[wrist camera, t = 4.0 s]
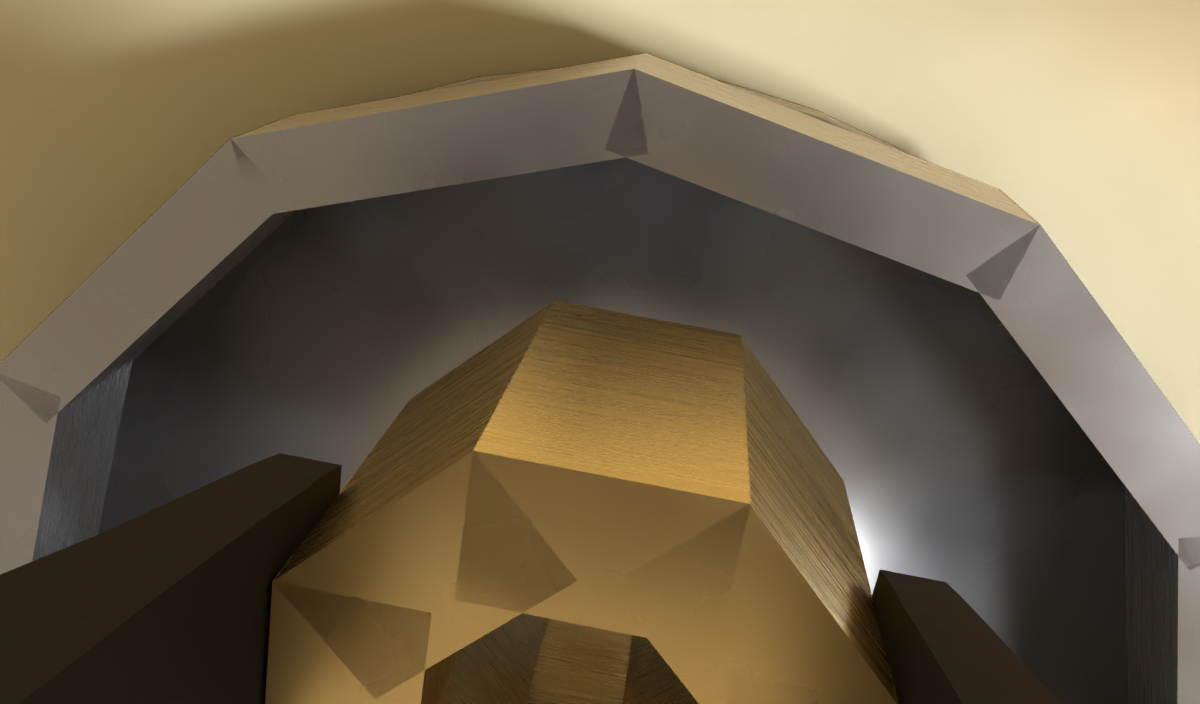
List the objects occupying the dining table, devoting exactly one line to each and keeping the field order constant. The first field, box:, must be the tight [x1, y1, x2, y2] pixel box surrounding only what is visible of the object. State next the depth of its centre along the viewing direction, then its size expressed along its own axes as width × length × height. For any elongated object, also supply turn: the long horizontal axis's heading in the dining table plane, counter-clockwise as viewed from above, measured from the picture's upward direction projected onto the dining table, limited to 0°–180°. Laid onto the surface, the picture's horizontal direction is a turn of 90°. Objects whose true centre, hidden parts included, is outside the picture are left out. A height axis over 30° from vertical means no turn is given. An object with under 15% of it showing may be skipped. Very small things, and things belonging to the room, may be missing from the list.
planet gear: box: [265, 300, 899, 704], centre depth 10 cm, size 5×5×4 cm
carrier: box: [0, 53, 1200, 704], centre depth 17 cm, size 19×19×4 cm
